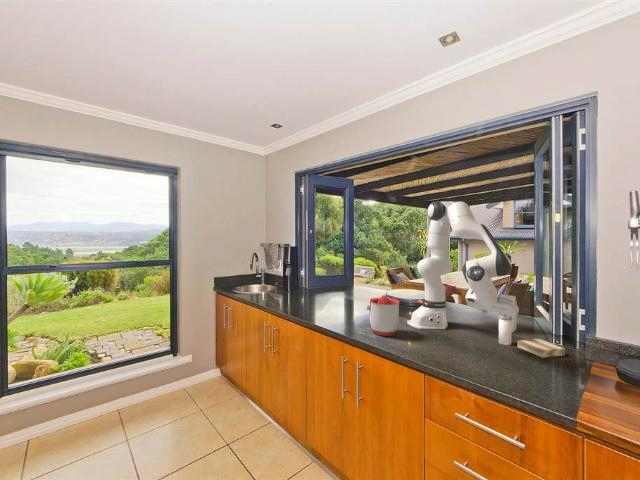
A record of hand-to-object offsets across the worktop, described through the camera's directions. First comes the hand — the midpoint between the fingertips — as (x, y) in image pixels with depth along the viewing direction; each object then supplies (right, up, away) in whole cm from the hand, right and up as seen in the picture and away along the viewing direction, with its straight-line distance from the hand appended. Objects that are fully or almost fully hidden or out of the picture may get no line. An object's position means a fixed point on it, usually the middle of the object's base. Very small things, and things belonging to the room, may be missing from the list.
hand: (496, 314), depth 132 cm
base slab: (+18, -16, -2) cm, 24 cm away
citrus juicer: (-48, -15, +21) cm, 54 cm away
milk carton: (+22, -15, +27) cm, 38 cm away
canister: (+8, -15, +7) cm, 19 cm away
